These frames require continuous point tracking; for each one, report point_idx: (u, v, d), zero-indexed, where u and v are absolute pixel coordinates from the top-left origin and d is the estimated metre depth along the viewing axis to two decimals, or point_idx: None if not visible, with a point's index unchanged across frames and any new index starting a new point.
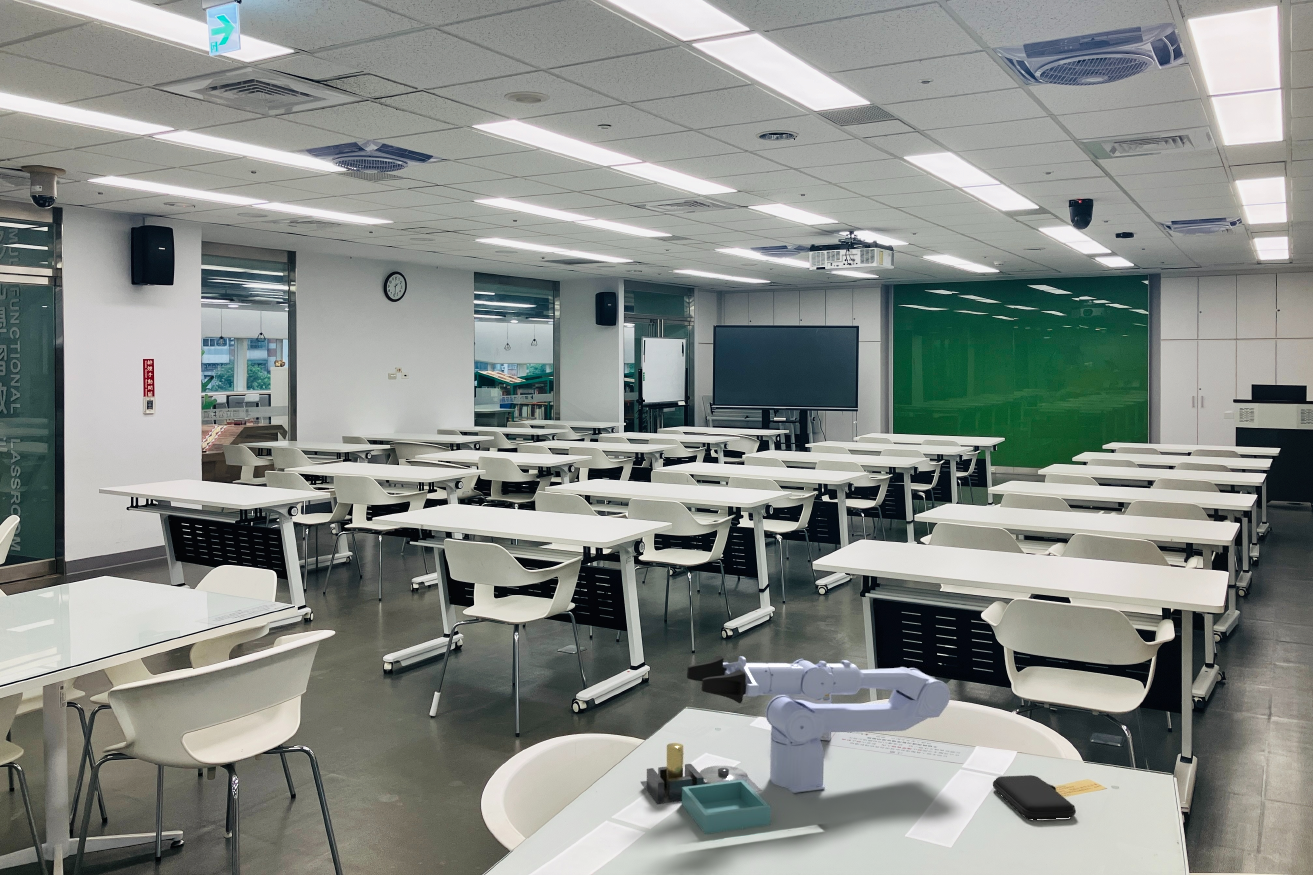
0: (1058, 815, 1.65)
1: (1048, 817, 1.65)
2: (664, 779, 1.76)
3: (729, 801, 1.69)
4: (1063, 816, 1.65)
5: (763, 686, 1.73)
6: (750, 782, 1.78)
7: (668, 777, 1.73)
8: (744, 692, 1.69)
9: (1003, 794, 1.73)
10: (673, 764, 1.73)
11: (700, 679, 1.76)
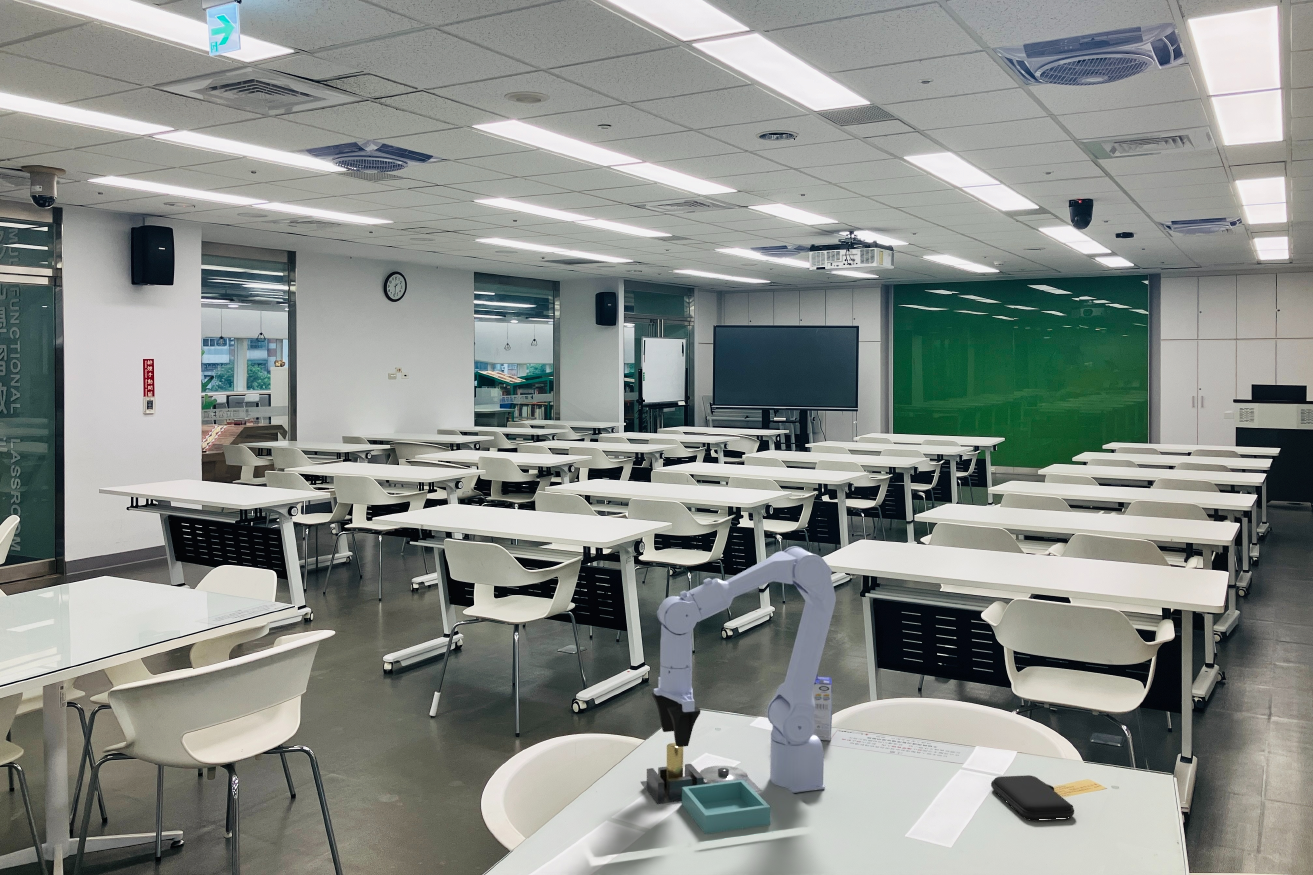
0: (1057, 815, 1.65)
1: (1047, 817, 1.65)
2: (664, 779, 1.76)
3: (729, 801, 1.69)
4: (1062, 816, 1.65)
5: (684, 675, 1.71)
6: (750, 782, 1.78)
7: (668, 777, 1.73)
8: None
9: (1002, 794, 1.73)
10: (673, 764, 1.73)
11: None
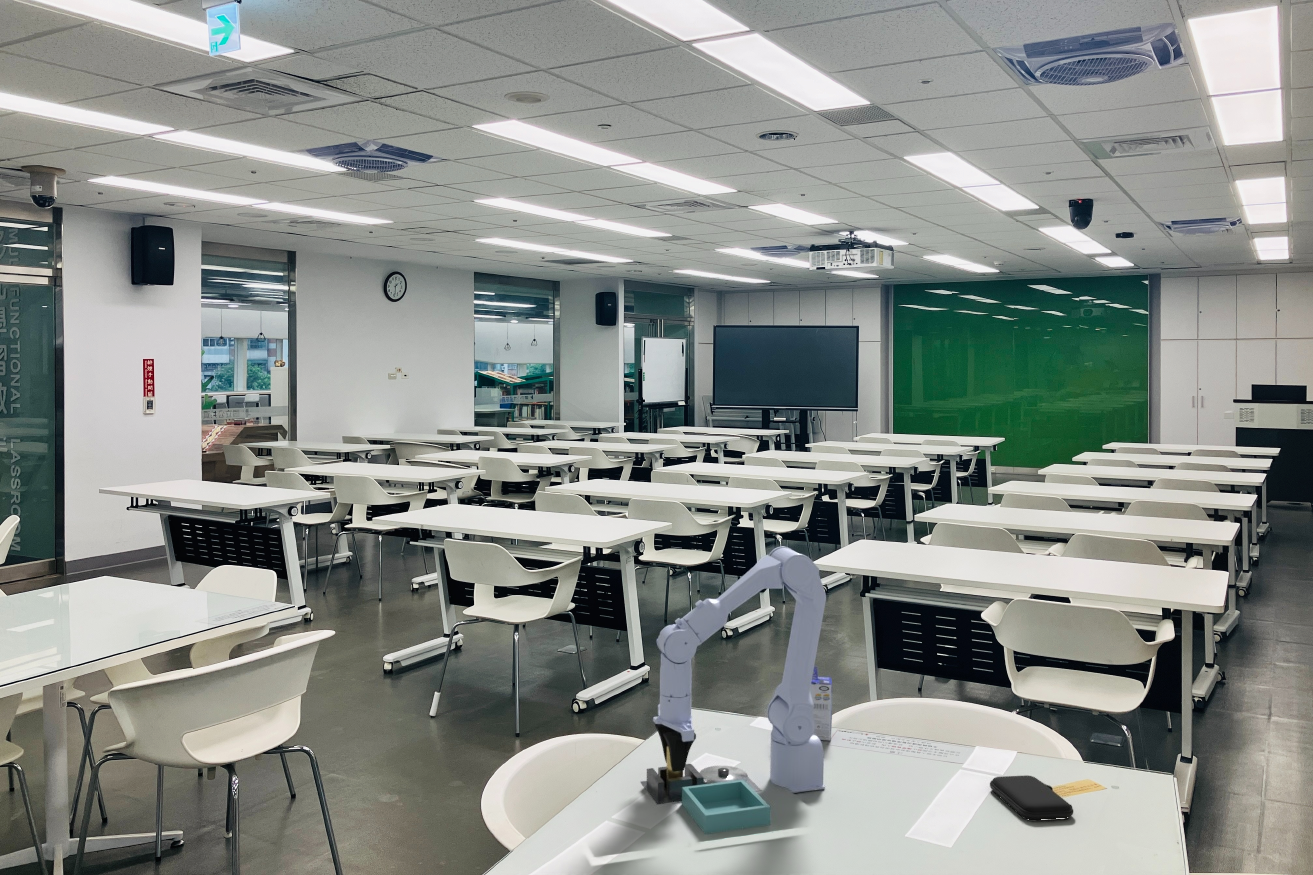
0: (1056, 815, 1.65)
1: (1046, 817, 1.65)
2: (664, 779, 1.76)
3: (729, 801, 1.69)
4: (1061, 816, 1.65)
5: (684, 704, 1.71)
6: (750, 782, 1.78)
7: (668, 777, 1.73)
8: None
9: (1000, 795, 1.73)
10: None
11: None
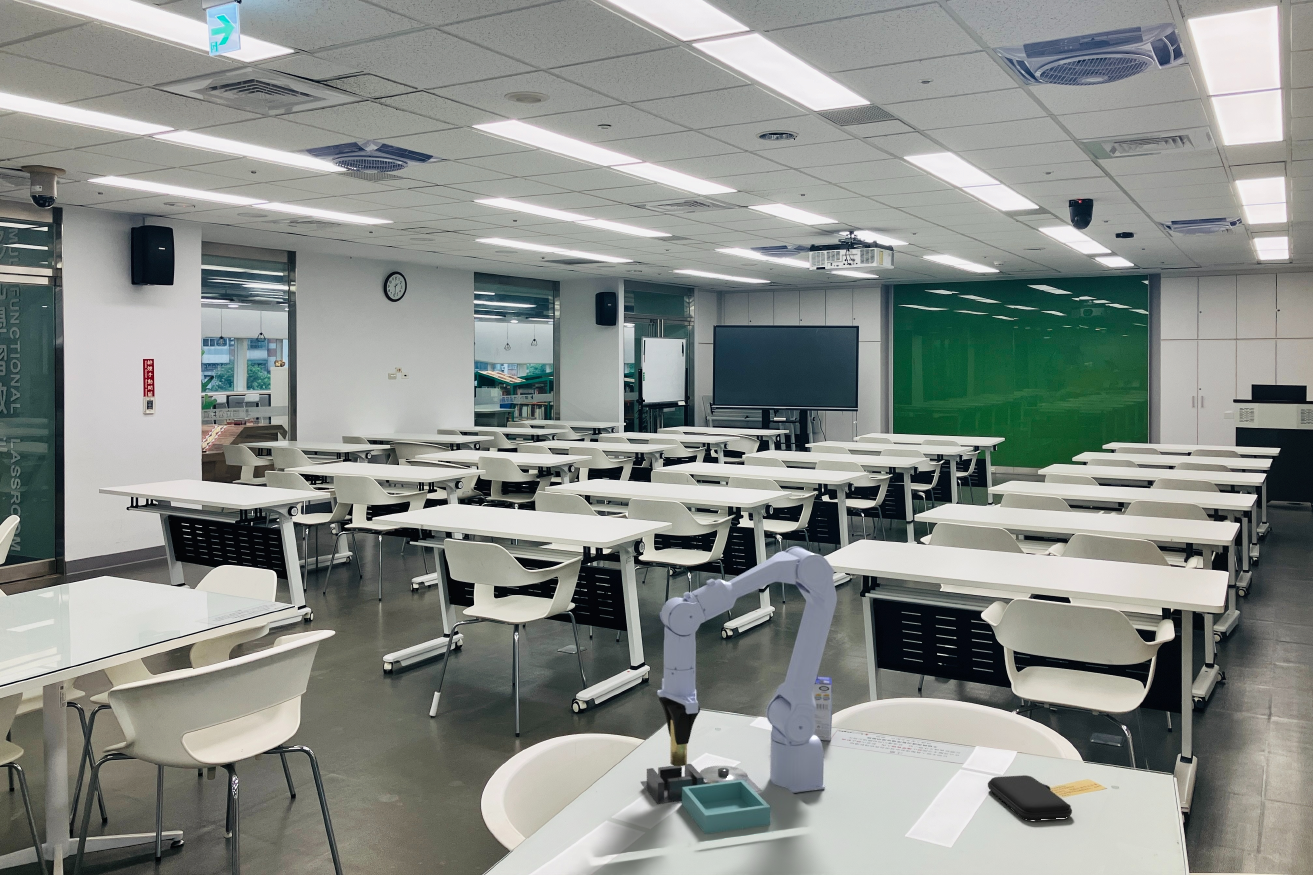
0: (1055, 815, 1.65)
1: (1045, 817, 1.65)
2: (664, 779, 1.76)
3: (729, 801, 1.69)
4: (1060, 816, 1.65)
5: (688, 677, 1.70)
6: (750, 782, 1.78)
7: (672, 751, 1.72)
8: None
9: (999, 795, 1.73)
10: None
11: None
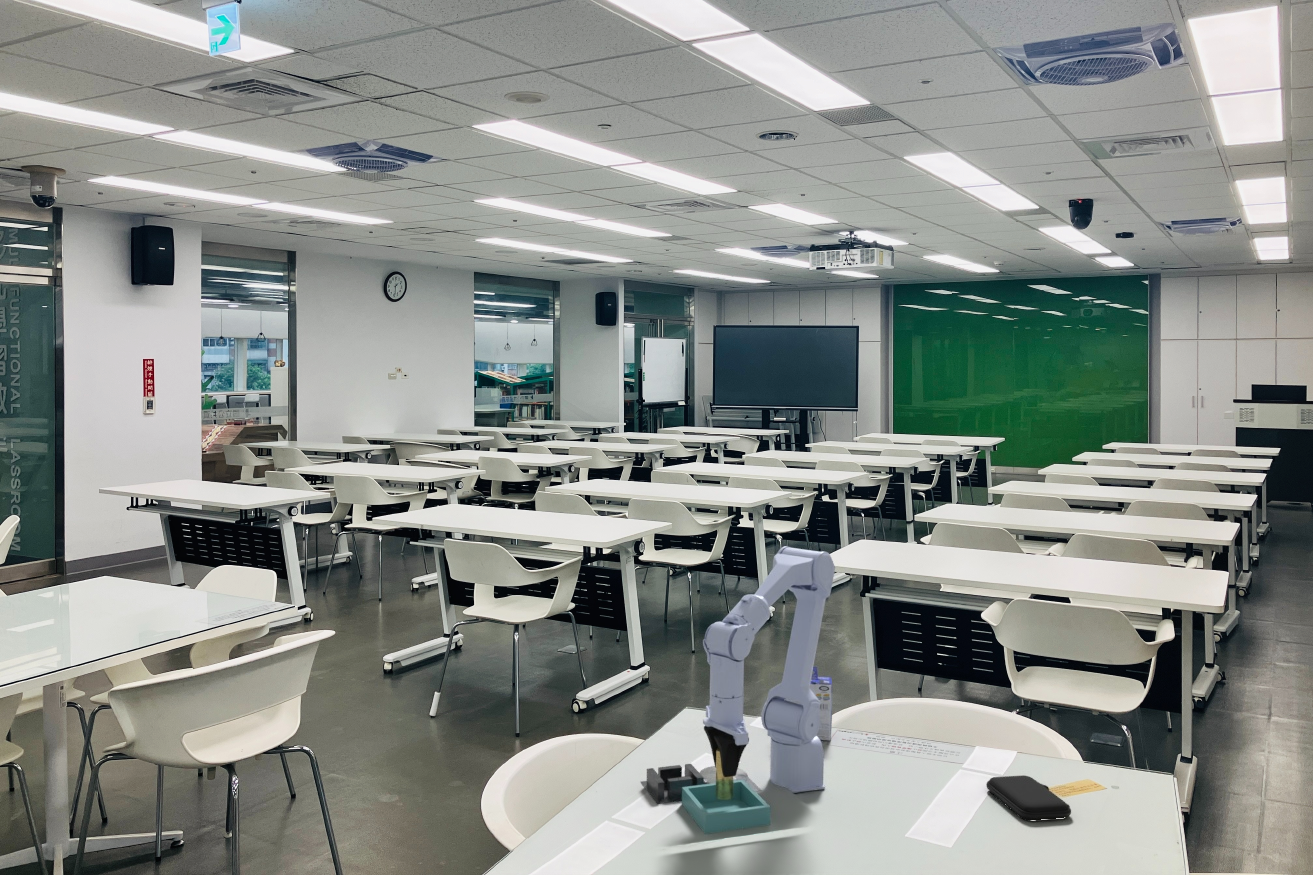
0: (1054, 815, 1.65)
1: (1044, 817, 1.65)
2: (664, 779, 1.76)
3: (729, 801, 1.69)
4: (1059, 816, 1.65)
5: (736, 705, 1.61)
6: (750, 782, 1.78)
7: (717, 783, 1.63)
8: None
9: (998, 795, 1.73)
10: None
11: None
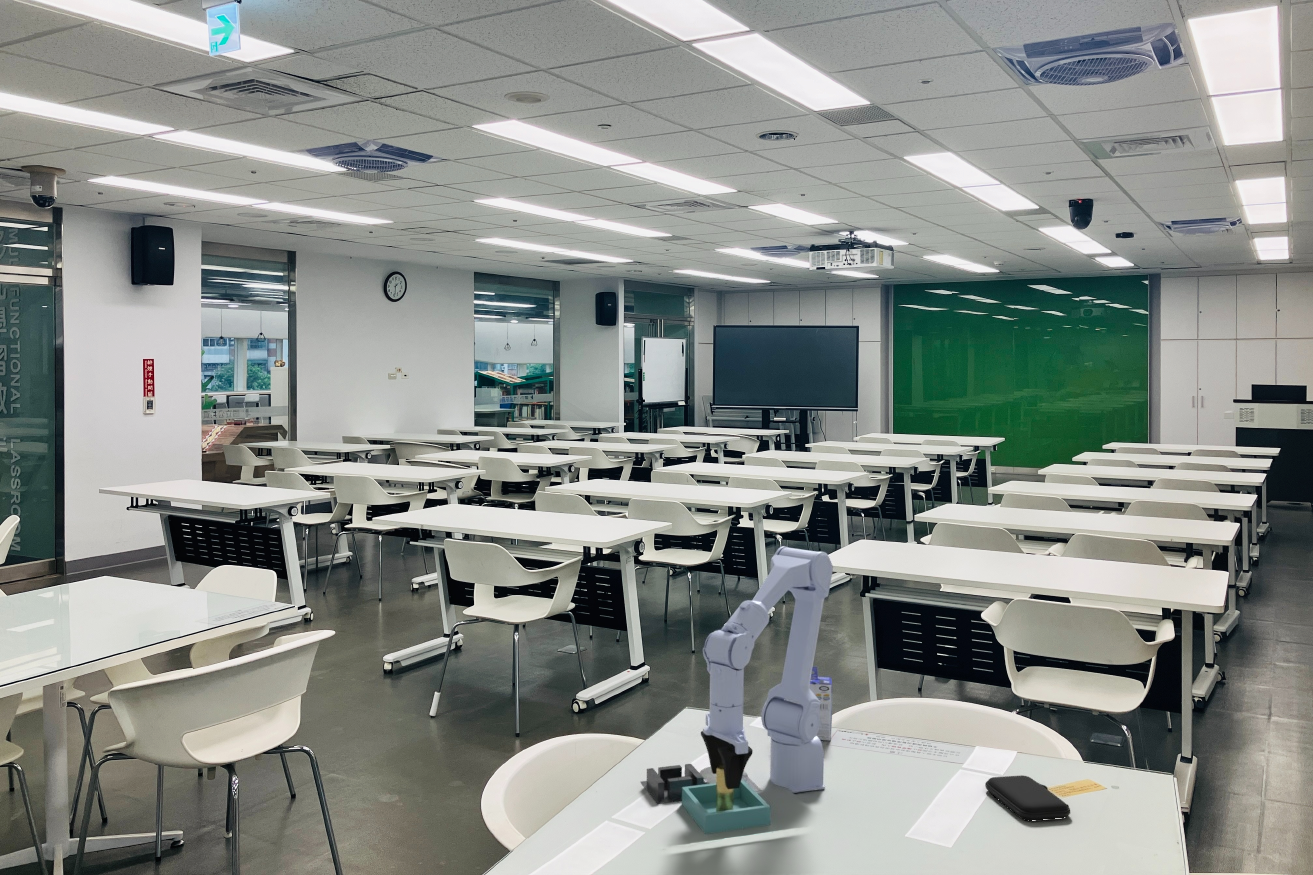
0: (1054, 815, 1.65)
1: (1044, 817, 1.65)
2: (664, 779, 1.76)
3: None
4: (1058, 816, 1.65)
5: (736, 714, 1.61)
6: (750, 782, 1.78)
7: (718, 801, 1.63)
8: None
9: (997, 795, 1.73)
10: (723, 788, 1.63)
11: None
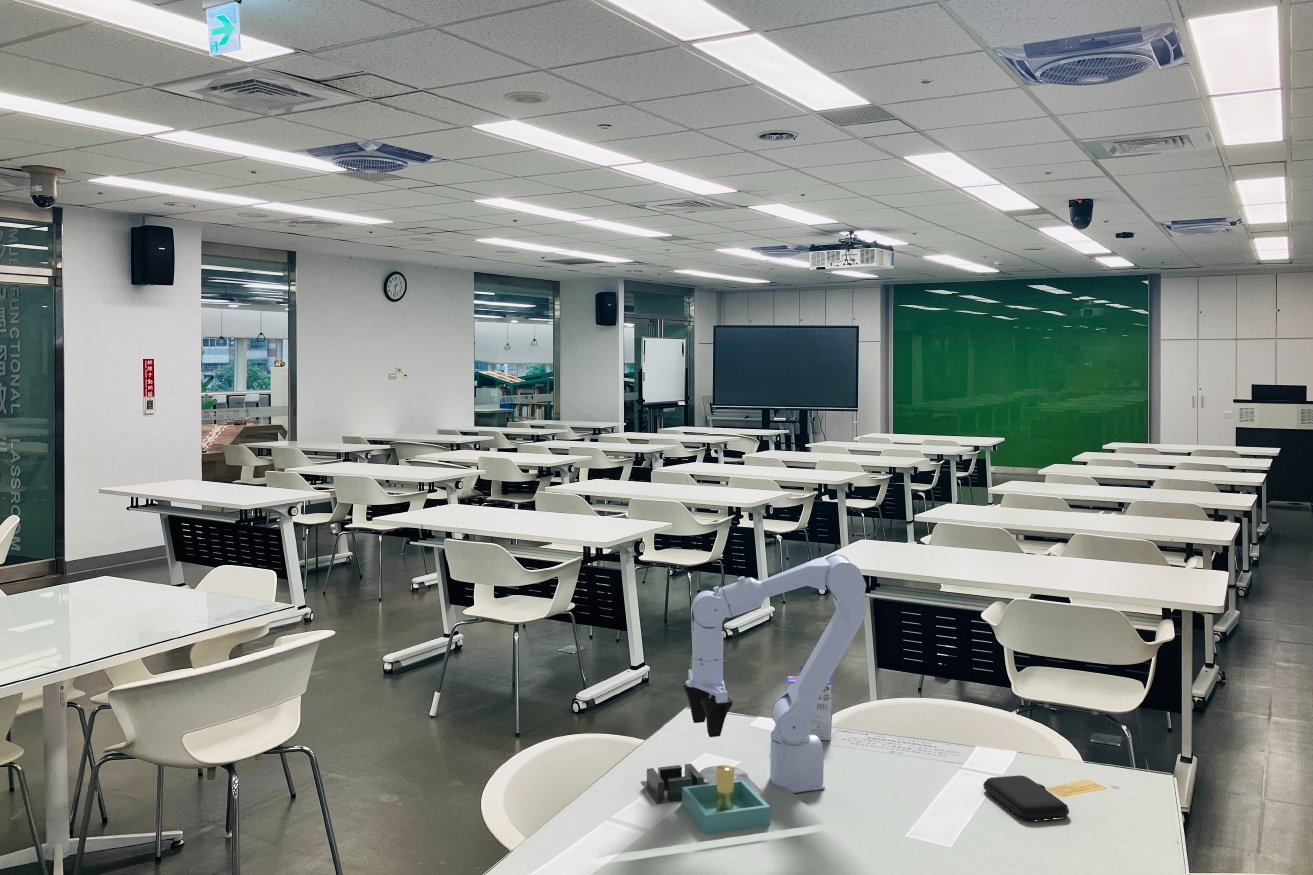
0: (1053, 815, 1.65)
1: (1043, 818, 1.65)
2: (664, 779, 1.76)
3: None
4: (1057, 816, 1.65)
5: (716, 668, 1.76)
6: (750, 782, 1.78)
7: (718, 801, 1.63)
8: None
9: (995, 796, 1.72)
10: (723, 788, 1.63)
11: None
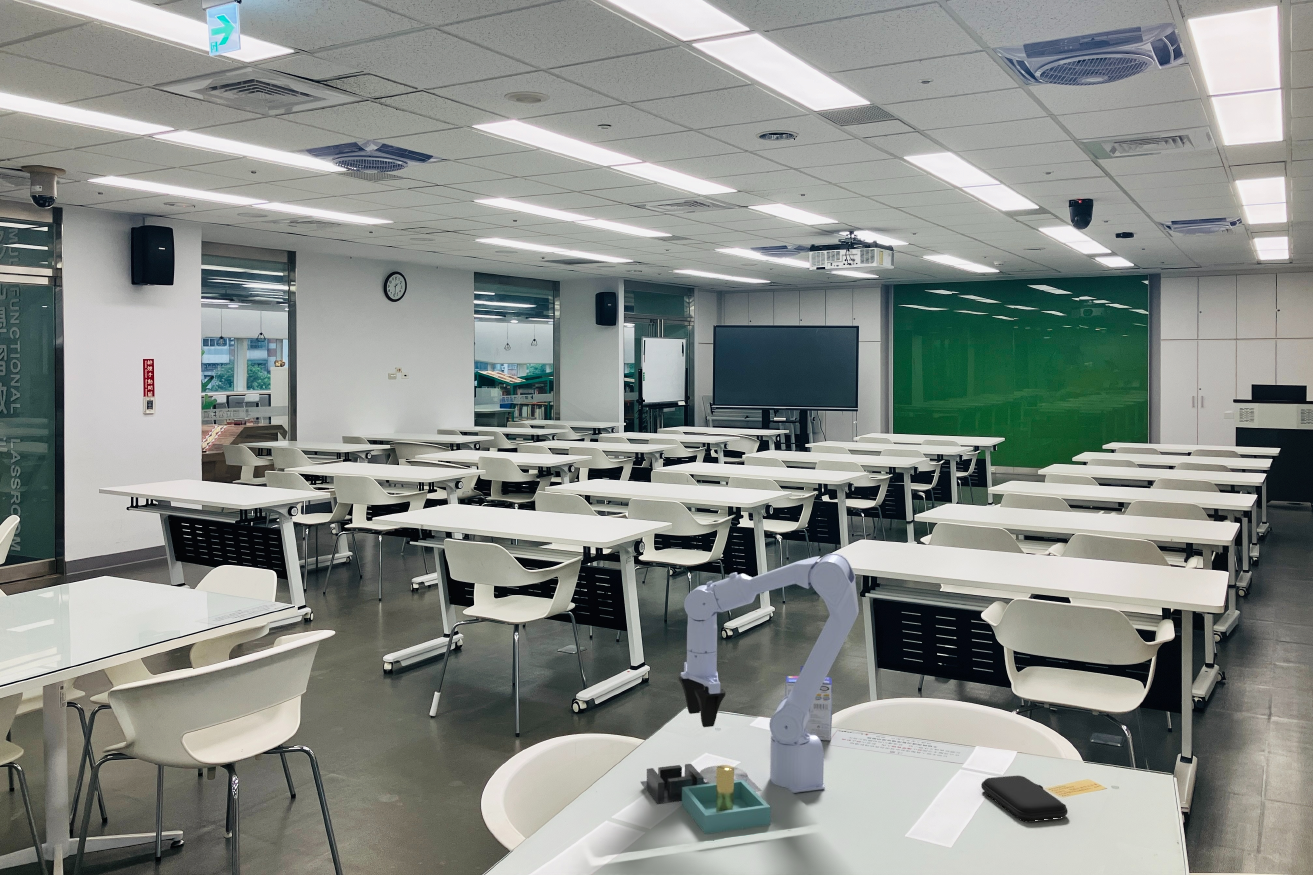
0: (1052, 815, 1.65)
1: (1042, 818, 1.65)
2: (664, 779, 1.76)
3: None
4: (1056, 816, 1.65)
5: (710, 660, 1.81)
6: (750, 782, 1.78)
7: (718, 801, 1.63)
8: None
9: (994, 796, 1.72)
10: (723, 788, 1.63)
11: None
